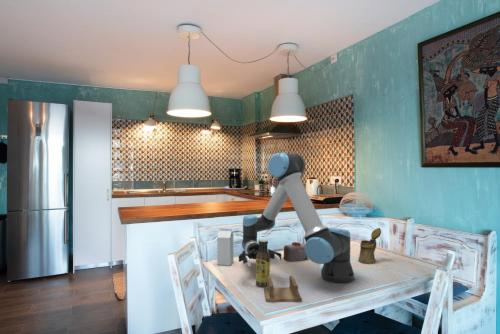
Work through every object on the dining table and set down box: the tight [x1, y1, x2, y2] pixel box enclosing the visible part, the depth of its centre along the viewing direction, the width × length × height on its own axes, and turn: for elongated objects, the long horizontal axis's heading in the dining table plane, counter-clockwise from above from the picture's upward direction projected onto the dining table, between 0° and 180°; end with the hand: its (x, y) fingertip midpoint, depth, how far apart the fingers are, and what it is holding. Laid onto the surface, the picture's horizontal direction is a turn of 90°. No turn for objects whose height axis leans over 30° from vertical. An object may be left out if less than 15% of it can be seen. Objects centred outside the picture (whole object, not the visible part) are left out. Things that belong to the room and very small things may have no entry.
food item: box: [282, 241, 309, 263], centre depth 182 cm, size 14×8×10 cm, turn 116°
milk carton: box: [216, 228, 234, 267], centre depth 174 cm, size 7×7×19 cm
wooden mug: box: [357, 227, 382, 265], centre depth 178 cm, size 9×14×18 cm, turn 111°
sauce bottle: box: [255, 239, 271, 288], centre depth 143 cm, size 6×6×20 cm
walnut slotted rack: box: [263, 275, 303, 303], centre depth 131 cm, size 14×12×6 cm
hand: (264, 262), depth 139 cm, fingers open, 13 cm apart
